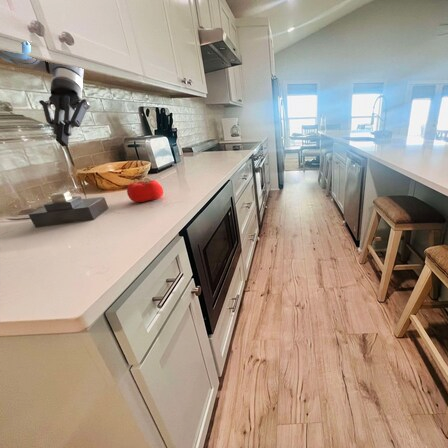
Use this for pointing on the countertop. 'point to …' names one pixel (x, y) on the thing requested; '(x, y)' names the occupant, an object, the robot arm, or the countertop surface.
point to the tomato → (144, 191)
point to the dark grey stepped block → (69, 211)
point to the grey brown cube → (61, 197)
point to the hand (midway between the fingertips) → (61, 143)
